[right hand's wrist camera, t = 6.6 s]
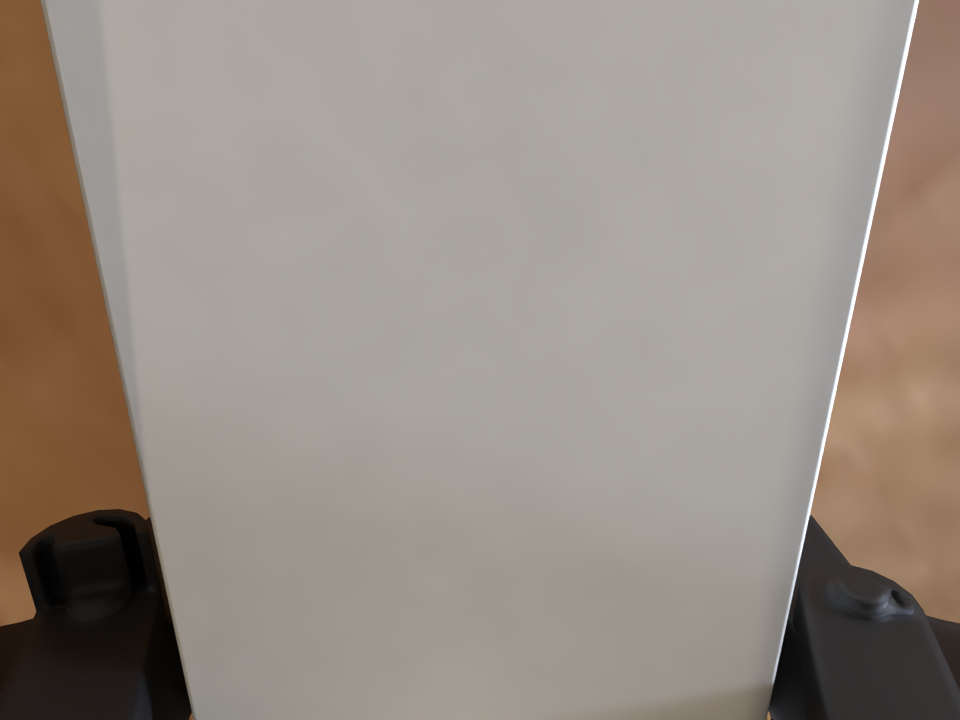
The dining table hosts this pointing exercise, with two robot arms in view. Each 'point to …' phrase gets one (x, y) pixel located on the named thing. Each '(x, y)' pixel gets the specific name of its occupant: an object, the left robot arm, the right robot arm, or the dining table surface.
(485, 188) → the post
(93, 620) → the right robot arm
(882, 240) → the dining table surface
